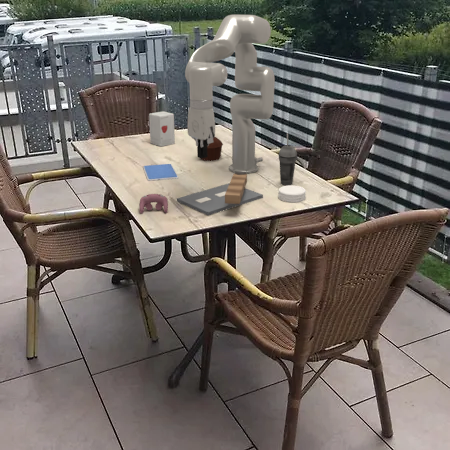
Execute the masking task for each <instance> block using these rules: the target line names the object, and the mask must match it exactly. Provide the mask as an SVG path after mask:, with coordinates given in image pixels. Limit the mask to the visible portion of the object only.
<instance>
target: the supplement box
mask: <svg viewBox="0 0 450 450" xmlns="http://www.w3.org/2000/svg"><path fill="white" fill-rule="evenodd" d="M148 118H149V119H148V121H149V138H150V139H149V140H150V142H149V143H150V144H152V145H155V146H158V147H165V146H170V145H174V144H176V143H175V142H176V141H175V134H176V133H175V114H174V113H172V112H167V111H164V110H163V111H157V112H152V113H151V112H150V113H149V114H148Z"/></svg>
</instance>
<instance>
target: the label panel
mask: <svg viewBox="0 0 450 450" xmlns="http://www.w3.org/2000/svg"><path fill="white" fill-rule="evenodd" d="M229 184H230V182H229V183H228V182H227V183H225V184H222V185H219V186H215V187H211V188H209V189H208V188H207V189H204V190H201V191H197V192H195V193H194V192H193V193H191V194H186V195H183V196H179V197H177V198H176V202H177V203H180V204H181V205H183V206H186V207H188V208H191V209H193V210H195V211H197V212H198V213H199V212H200V213H201V214H204V215H206V216H211V215H215V214H217V213H220V211H221V212H223V210H224V211H227V210H229V208H230V209H233V208H236V207H239V206H242V205H245V204H247V203H251V202H254V201H257V200H260V199H263V198H264V194H262V193H260V192H256V191H255V190H251V189H248V188H247V187H245V189H244V192H243V195H242V198H241V201H240V204H231V203H225V193H226V191H227V189H228V186H229ZM235 206H236V207H235ZM232 207H233V208H232ZM226 209H227V210H226Z"/></svg>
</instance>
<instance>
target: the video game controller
mask: <svg viewBox="0 0 450 450" xmlns="http://www.w3.org/2000/svg"><path fill="white" fill-rule="evenodd" d="M152 203H156V204H155V205H154V206H153V204H152ZM153 207H154V209H156V210H157V211H161V210H162V209H163V211H164V214H167V213H168V212H169V201H168V198H167V197H166V196H165V195H164V194H159V193H149V194H146V195H143V196H142V197H141V198H140V200H139V206H138V208H139V213H140V214H141V215H143V214H144V211H145V209H146V210H147V211H152V210H153Z"/></svg>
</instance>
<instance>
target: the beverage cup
mask: <svg viewBox="0 0 450 450" xmlns="http://www.w3.org/2000/svg"><path fill="white" fill-rule="evenodd" d="M297 158H298V151H297V150H296V147H294V146H293V145H291V144H289V133H288V132H287V133H286V145H283V146H282V147H281V148H280V149H279V151H278V160H279V161H278V162H279V177H280V185H281V184H282V186H284V185H286V186H288V185H293V181H294V175H295V167H296V162H297Z"/></svg>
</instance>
